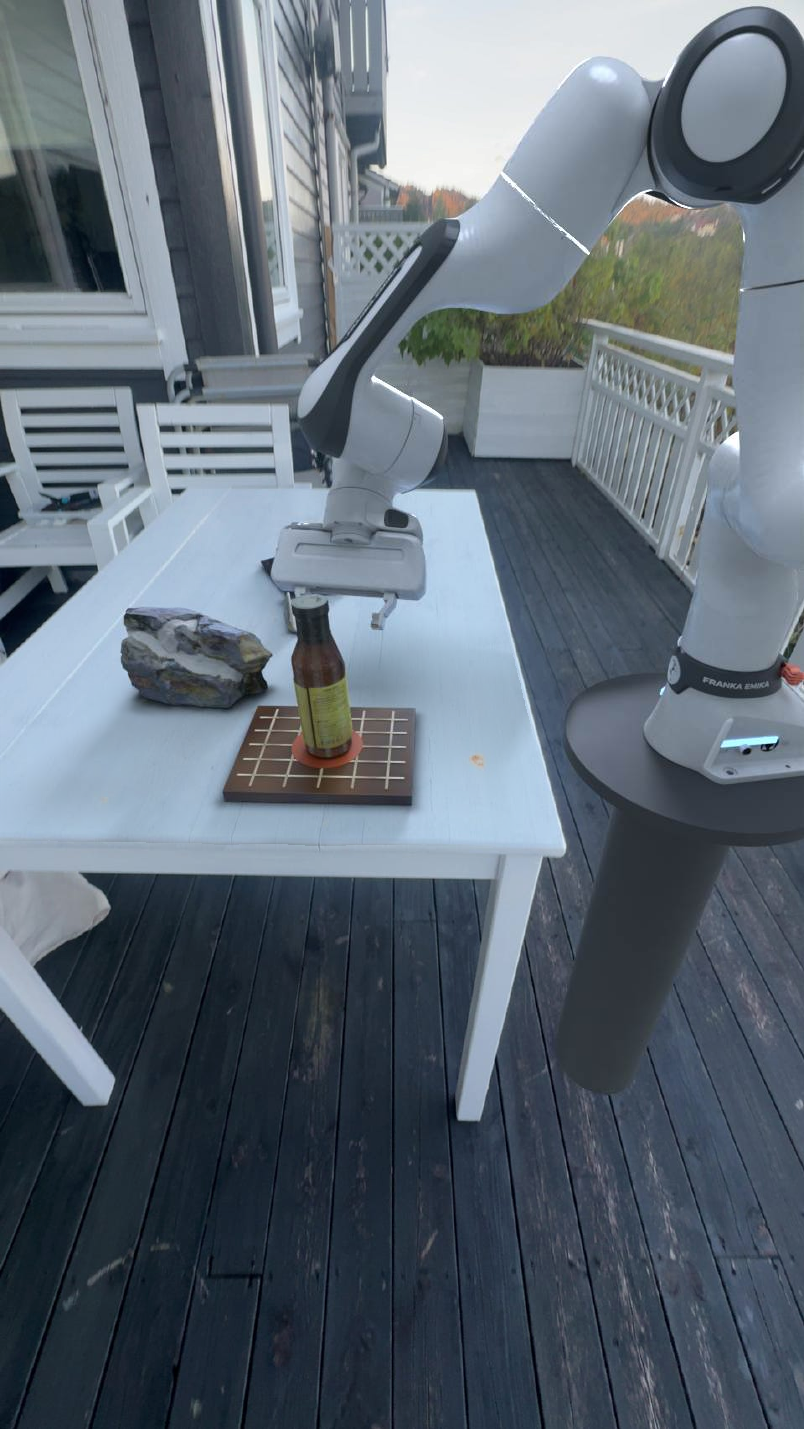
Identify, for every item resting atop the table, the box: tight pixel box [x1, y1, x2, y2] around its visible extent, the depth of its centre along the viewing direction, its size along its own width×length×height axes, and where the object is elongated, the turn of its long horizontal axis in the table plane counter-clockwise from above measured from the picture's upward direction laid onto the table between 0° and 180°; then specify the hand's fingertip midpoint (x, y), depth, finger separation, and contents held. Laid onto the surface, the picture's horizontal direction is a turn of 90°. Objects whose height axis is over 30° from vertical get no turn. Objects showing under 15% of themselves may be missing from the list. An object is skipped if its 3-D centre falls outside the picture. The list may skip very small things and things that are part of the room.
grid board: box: [222, 704, 416, 806], centre depth 80 cm, size 22×18×2 cm
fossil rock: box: [120, 606, 273, 709], centre depth 89 cm, size 20×9×15 cm, turn 76°
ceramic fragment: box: [282, 591, 297, 634], centre depth 113 cm, size 14×5×4 cm, turn 11°
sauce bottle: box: [290, 593, 353, 758], centre depth 74 cm, size 6×6×20 cm
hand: (341, 626), depth 80 cm, fingers open, 8 cm apart
